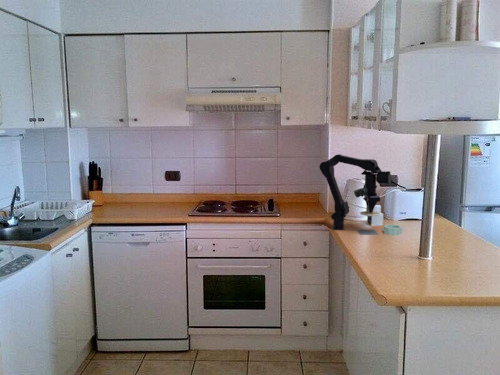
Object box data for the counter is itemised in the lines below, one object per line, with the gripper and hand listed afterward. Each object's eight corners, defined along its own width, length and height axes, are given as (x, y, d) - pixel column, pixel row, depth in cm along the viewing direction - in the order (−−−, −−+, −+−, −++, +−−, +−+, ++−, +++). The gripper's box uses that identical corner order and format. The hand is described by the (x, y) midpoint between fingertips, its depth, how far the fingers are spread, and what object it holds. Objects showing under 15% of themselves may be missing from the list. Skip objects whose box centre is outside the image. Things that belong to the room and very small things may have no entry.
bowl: (381, 231, 239) (382, 224, 238) (398, 231, 238) (398, 224, 238) (386, 236, 230) (386, 228, 229) (403, 235, 230) (404, 228, 229)
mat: (356, 230, 241) (356, 230, 241) (374, 230, 241) (374, 229, 241) (360, 235, 232) (360, 234, 232) (379, 235, 231) (379, 234, 231)
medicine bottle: (367, 223, 258) (367, 203, 256) (378, 223, 259) (379, 203, 257) (371, 226, 251) (371, 205, 249) (383, 226, 252) (383, 205, 250)
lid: (358, 212, 240) (358, 204, 239) (376, 212, 239) (377, 203, 239) (362, 216, 230) (362, 207, 229) (381, 216, 230) (381, 207, 229)
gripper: (351, 181, 242) (351, 208, 244) (359, 186, 223) (358, 215, 225) (371, 180, 241) (371, 208, 244) (381, 185, 223) (380, 215, 225)
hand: (369, 212), depth 234 cm, fingers closed on lid, 3 cm apart
